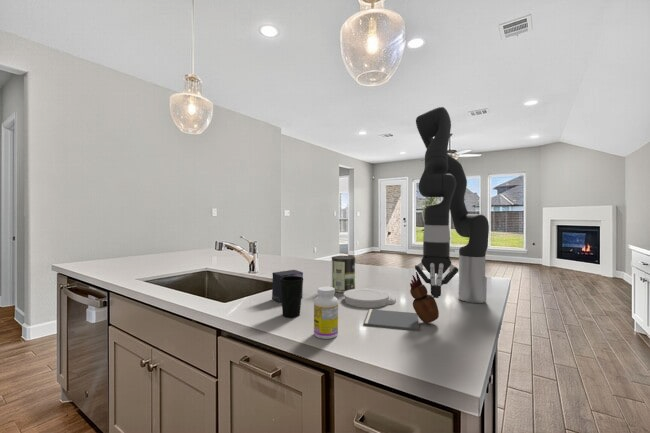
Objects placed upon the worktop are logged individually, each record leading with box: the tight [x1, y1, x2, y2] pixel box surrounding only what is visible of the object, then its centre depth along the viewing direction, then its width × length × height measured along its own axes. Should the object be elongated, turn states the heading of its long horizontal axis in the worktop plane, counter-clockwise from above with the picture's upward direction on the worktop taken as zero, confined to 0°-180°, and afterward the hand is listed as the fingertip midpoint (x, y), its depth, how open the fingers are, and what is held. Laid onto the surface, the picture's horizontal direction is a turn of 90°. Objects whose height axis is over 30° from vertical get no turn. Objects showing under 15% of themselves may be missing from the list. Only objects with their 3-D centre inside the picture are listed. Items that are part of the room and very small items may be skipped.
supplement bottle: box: [313, 286, 339, 340], centre depth 85 cm, size 7×7×13 cm
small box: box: [271, 269, 304, 304], centre depth 120 cm, size 11×6×10 cm, turn 131°
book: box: [362, 308, 420, 332], centre depth 97 cm, size 16×14×1 cm
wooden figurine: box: [409, 271, 440, 324], centre depth 95 cm, size 7×6×15 cm
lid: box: [343, 288, 397, 309], centre depth 118 cm, size 17×20×3 cm
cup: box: [280, 276, 304, 319], centre depth 101 cm, size 8×8×12 cm
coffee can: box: [331, 255, 356, 293], centre depth 134 cm, size 10×10×14 cm
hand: (435, 297), depth 94 cm, fingers closed
